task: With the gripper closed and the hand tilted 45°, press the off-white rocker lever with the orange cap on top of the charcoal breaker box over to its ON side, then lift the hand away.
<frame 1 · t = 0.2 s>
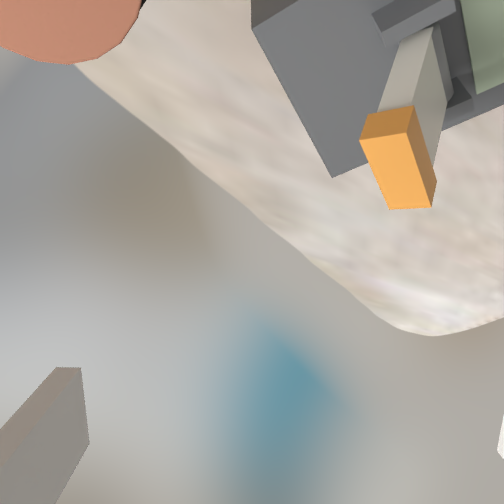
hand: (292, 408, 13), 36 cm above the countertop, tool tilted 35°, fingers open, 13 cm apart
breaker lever: (414, 109, 25), point 18 cm above the countertop, hinge at 25.0°
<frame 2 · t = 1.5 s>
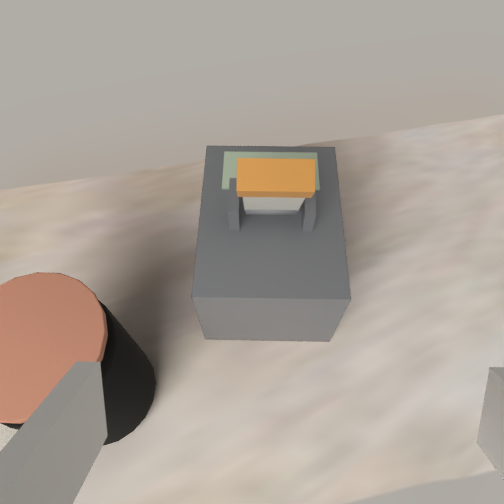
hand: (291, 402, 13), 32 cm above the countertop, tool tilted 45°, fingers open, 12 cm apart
breaker box: (267, 269, 51), on the countertop
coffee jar: (108, 392, 44), on the countertop
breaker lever: (273, 191, 35), point 18 cm above the countertop, hinge at 25.0°
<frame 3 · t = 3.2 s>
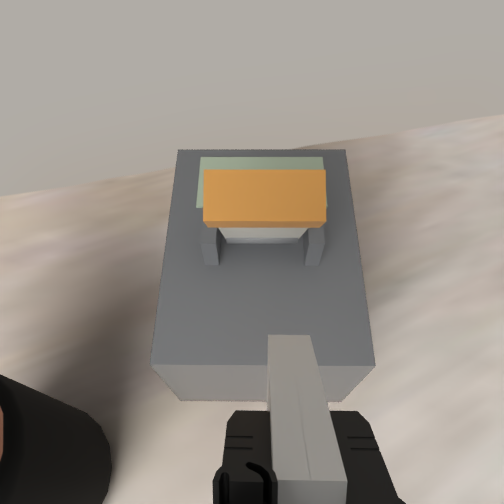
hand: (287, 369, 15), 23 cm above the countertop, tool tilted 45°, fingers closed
breaker box: (260, 305, 40), on the countertop
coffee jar: (50, 477, 33), on the countertop
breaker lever: (262, 215, 24), point 18 cm above the countertop, hinge at 25.0°
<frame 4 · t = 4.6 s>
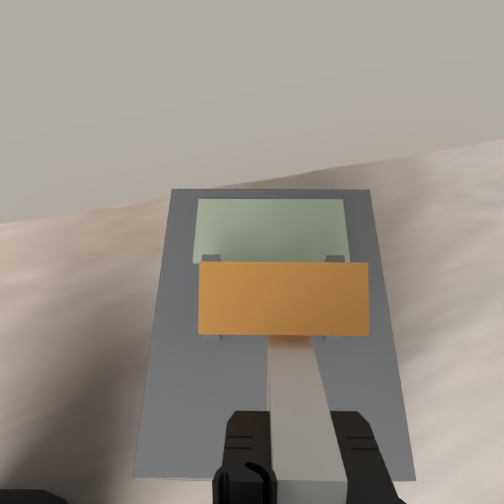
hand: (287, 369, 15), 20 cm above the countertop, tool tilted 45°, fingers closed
breaker box: (267, 360, 35), on the countertop
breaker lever: (276, 295, 19), point 18 cm above the countertop, hinge at 24.3°, touching gripper
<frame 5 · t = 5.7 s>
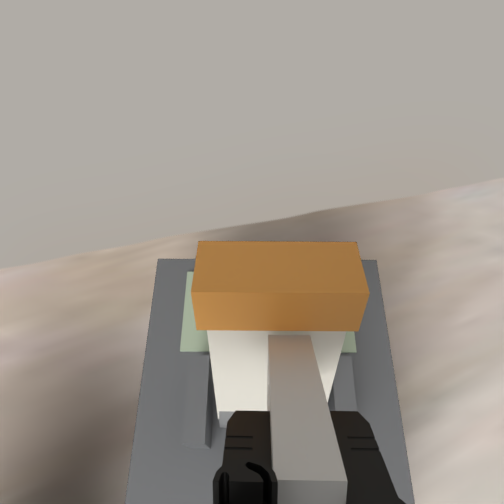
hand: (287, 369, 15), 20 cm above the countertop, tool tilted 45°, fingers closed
breaker box: (263, 431, 33), on the countertop
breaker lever: (272, 354, 17), point 18 cm above the countertop, hinge at -17.5°, touching gripper
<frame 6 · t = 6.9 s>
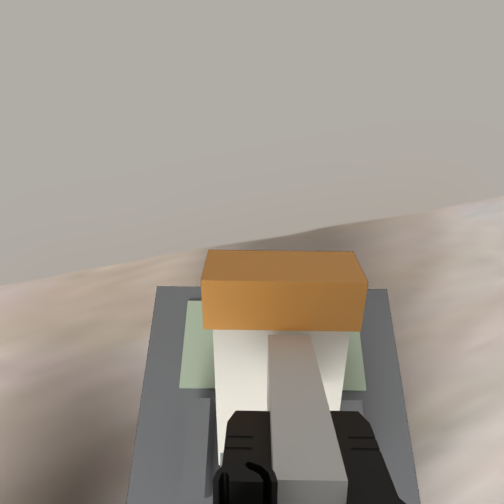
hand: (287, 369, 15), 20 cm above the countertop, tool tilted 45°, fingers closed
breaker box: (266, 462, 31), on the countertop
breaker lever: (277, 379, 17), point 17 cm above the countertop, hinge at -35.0°, touching gripper
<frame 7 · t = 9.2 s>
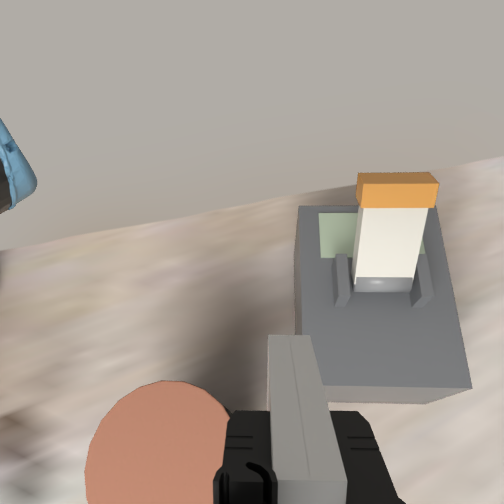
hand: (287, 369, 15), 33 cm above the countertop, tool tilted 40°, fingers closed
breaker box: (353, 323, 49), on the countertop
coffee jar: (203, 458, 44), on the countertop
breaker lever: (387, 238, 35), point 17 cm above the countertop, hinge at -33.0°
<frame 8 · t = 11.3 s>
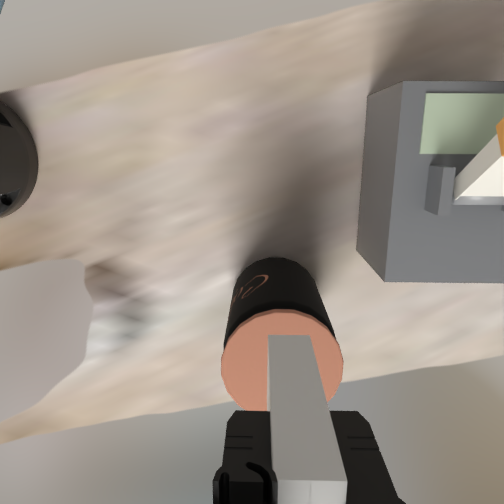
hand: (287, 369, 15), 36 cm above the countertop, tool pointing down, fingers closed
breaker box: (421, 177, 49), on the countertop
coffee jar: (274, 294, 53), on the countertop
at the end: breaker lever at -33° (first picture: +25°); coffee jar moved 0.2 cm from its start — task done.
